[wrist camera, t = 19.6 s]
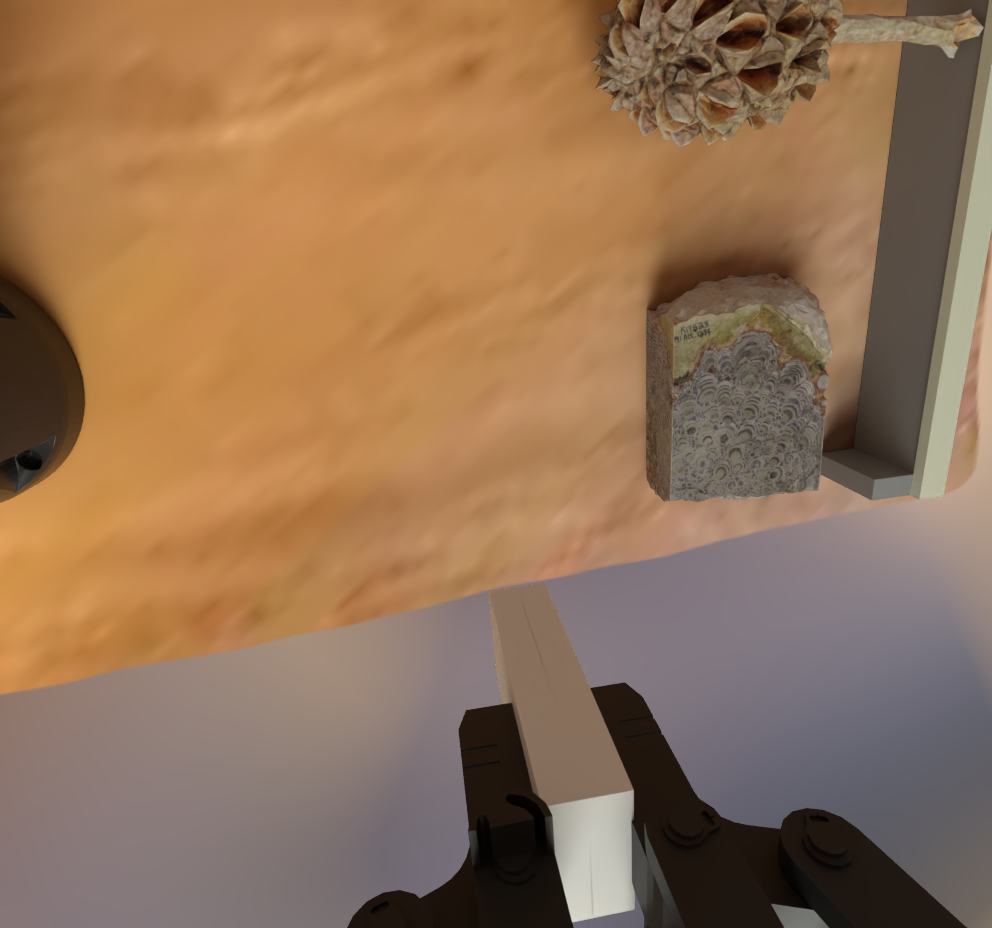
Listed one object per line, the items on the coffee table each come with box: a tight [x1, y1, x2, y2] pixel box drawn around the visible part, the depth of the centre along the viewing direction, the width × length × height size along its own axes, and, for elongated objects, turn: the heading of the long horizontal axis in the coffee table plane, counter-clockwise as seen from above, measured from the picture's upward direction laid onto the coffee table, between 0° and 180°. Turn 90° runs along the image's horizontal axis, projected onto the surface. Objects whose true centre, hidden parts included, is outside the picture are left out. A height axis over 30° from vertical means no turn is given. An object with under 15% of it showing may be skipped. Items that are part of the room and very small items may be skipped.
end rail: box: [820, 0, 992, 500], centre depth 37 cm, size 5×40×7 cm, turn 5°
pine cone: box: [591, 0, 984, 147], centre depth 32 cm, size 22×10×10 cm, turn 99°
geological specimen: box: [646, 273, 832, 502], centre depth 41 cm, size 11×6×15 cm
